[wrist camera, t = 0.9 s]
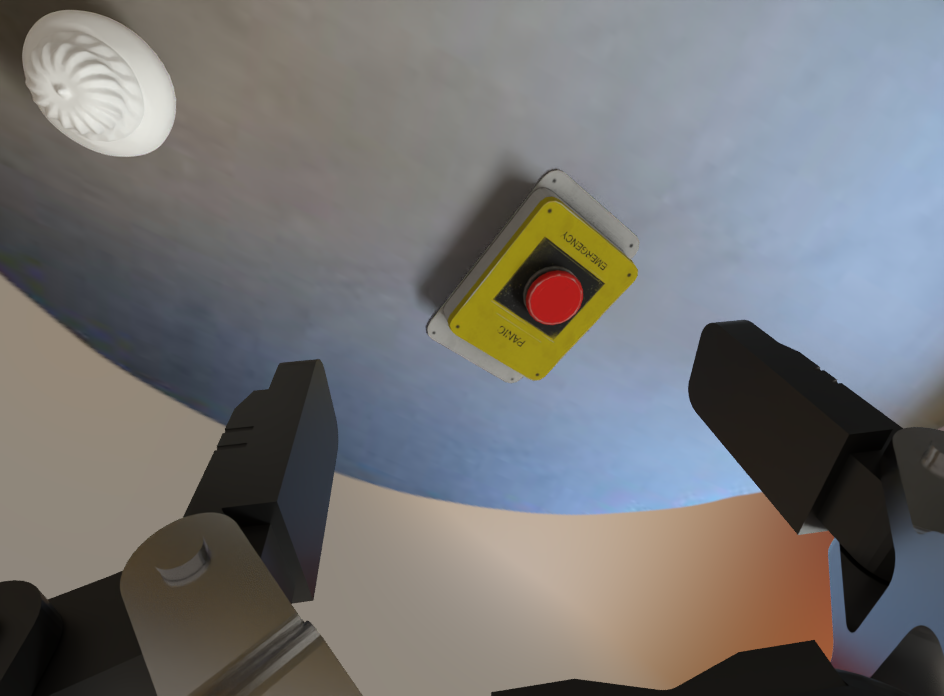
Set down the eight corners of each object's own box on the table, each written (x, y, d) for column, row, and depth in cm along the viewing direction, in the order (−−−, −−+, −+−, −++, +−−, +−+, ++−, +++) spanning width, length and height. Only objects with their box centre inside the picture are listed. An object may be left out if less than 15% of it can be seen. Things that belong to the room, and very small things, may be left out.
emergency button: (671, 261, 31) (524, 415, 36) (641, 240, 35) (512, 382, 40) (572, 174, 27) (424, 359, 32) (551, 161, 31) (421, 329, 36)
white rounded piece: (40, 53, 24) (-74, 50, 18) (137, -10, 24) (50, -34, 18) (136, 166, 28) (65, 195, 22) (224, 114, 27) (176, 129, 21)
